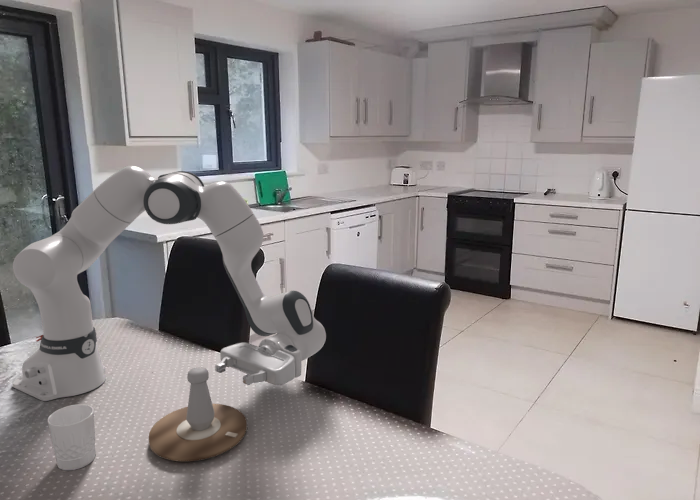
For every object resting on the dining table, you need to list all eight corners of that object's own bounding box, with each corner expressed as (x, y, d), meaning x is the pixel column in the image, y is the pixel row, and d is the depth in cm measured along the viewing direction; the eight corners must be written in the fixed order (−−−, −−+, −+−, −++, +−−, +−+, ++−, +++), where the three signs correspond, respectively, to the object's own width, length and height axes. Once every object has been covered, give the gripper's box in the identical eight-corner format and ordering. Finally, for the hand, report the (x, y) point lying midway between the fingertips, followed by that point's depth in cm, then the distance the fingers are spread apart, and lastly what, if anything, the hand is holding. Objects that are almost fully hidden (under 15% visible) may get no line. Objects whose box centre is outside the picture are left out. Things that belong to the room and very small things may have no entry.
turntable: (127, 449, 102) (126, 443, 102) (188, 401, 120) (188, 396, 120) (212, 470, 96) (212, 465, 95) (263, 416, 114) (263, 411, 114)
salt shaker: (206, 435, 105) (203, 377, 102) (181, 431, 106) (177, 374, 103) (219, 420, 110) (216, 365, 107) (195, 417, 111) (192, 362, 109)
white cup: (52, 477, 95) (46, 430, 93) (54, 454, 102) (48, 409, 99) (99, 465, 98) (94, 419, 96) (98, 444, 105) (93, 400, 103)
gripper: (245, 332, 129) (200, 350, 118) (305, 352, 117) (261, 374, 106) (247, 355, 130) (202, 375, 120) (306, 377, 118) (262, 402, 108)
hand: (230, 375), depth 113 cm, fingers open, 8 cm apart
